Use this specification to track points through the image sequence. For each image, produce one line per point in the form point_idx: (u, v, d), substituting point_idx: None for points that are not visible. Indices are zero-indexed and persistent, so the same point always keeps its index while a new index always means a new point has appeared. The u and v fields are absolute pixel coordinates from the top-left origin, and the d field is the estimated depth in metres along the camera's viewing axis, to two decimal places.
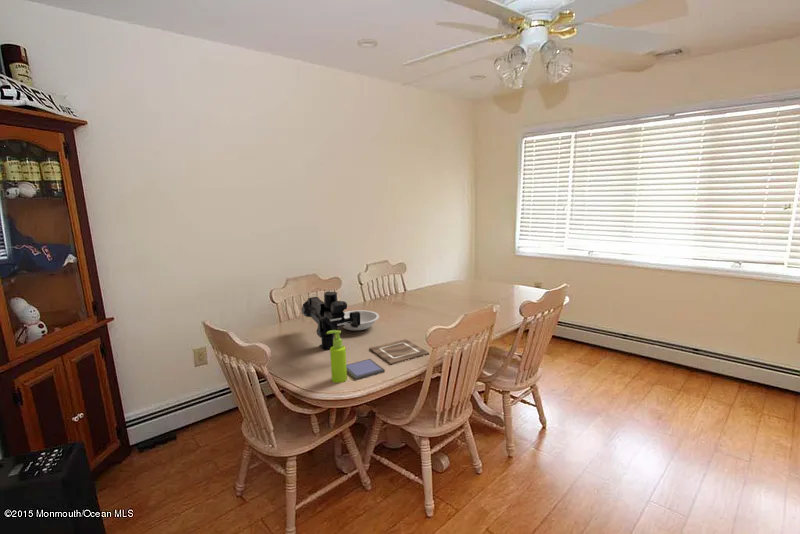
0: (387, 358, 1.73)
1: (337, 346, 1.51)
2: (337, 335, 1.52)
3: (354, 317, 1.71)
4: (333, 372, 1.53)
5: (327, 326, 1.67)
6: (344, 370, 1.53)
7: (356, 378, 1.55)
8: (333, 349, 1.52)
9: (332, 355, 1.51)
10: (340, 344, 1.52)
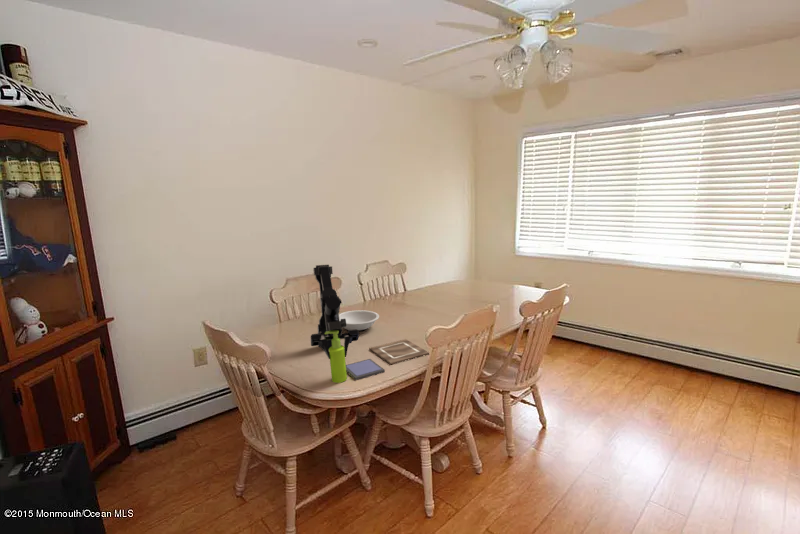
0: (387, 358, 1.73)
1: (336, 347, 1.51)
2: (335, 335, 1.51)
3: (347, 340, 1.55)
4: (333, 372, 1.53)
5: (323, 344, 1.55)
6: (344, 370, 1.53)
7: (356, 378, 1.55)
8: (332, 349, 1.51)
9: (331, 355, 1.51)
10: (338, 344, 1.52)
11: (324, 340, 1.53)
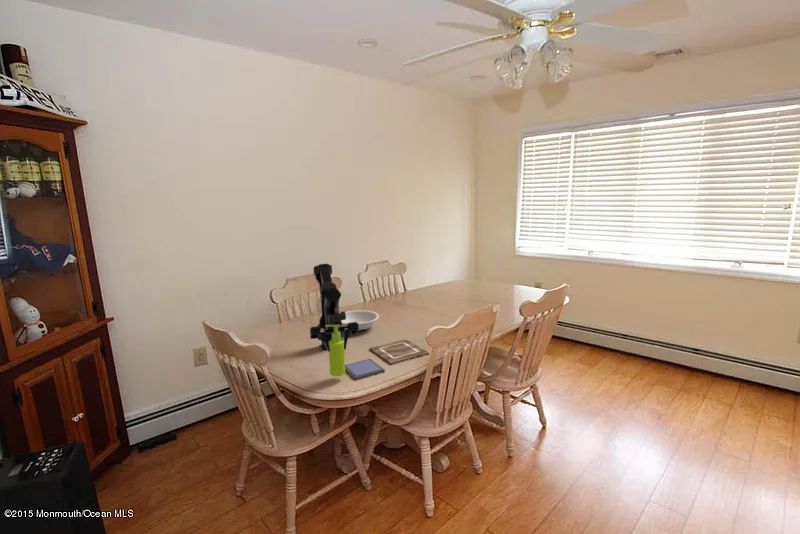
0: (387, 358, 1.73)
1: (336, 340, 1.51)
2: (336, 328, 1.51)
3: (346, 333, 1.55)
4: (331, 365, 1.52)
5: None
6: (342, 363, 1.53)
7: (356, 378, 1.55)
8: (331, 342, 1.51)
9: (330, 348, 1.51)
10: (339, 337, 1.51)
11: (323, 333, 1.52)
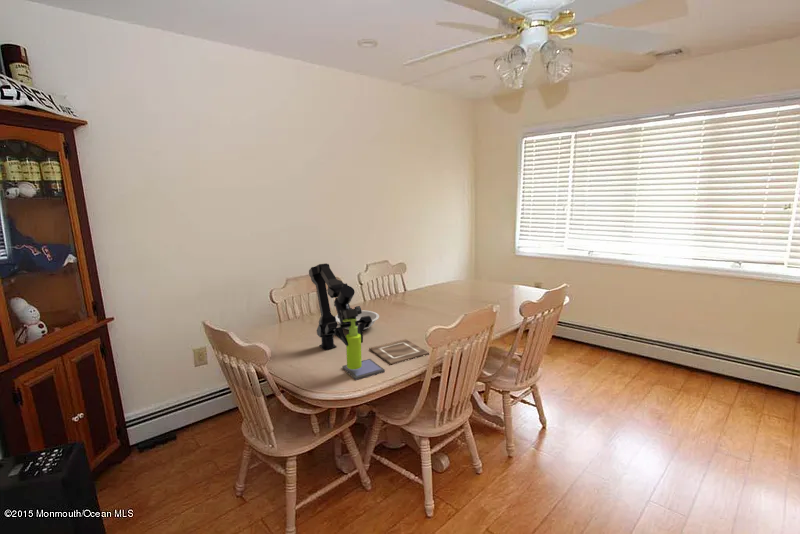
0: (387, 358, 1.73)
1: (354, 334, 1.56)
2: (353, 323, 1.56)
3: (361, 327, 1.60)
4: (350, 359, 1.57)
5: (338, 332, 1.58)
6: (360, 356, 1.58)
7: (356, 378, 1.55)
8: (350, 337, 1.55)
9: (349, 342, 1.55)
10: (356, 331, 1.56)
11: (341, 328, 1.56)
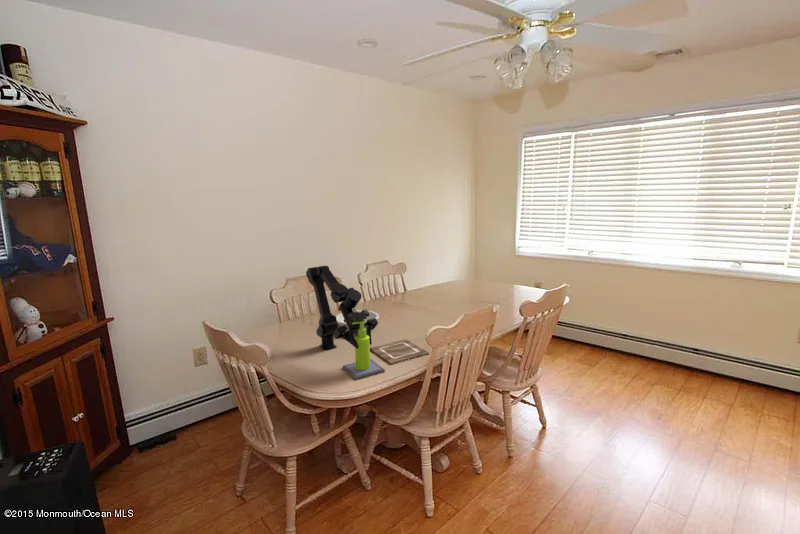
0: (387, 358, 1.73)
1: (363, 335, 1.59)
2: (362, 325, 1.59)
3: (369, 329, 1.64)
4: (359, 360, 1.60)
5: (347, 335, 1.61)
6: (369, 357, 1.62)
7: (356, 378, 1.55)
8: (359, 338, 1.59)
9: (359, 344, 1.59)
10: (365, 333, 1.60)
11: (350, 331, 1.59)
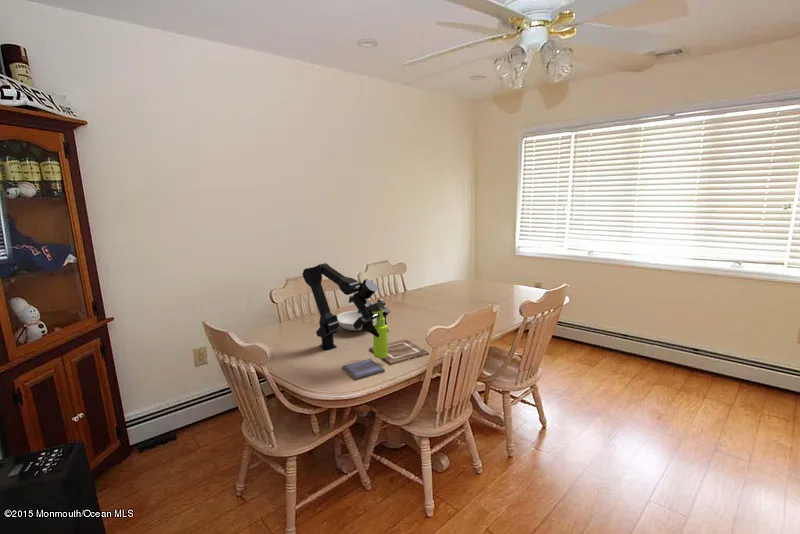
0: (387, 358, 1.73)
1: (383, 324, 1.65)
2: (382, 314, 1.65)
3: None
4: (380, 349, 1.65)
5: (367, 325, 1.64)
6: (387, 345, 1.68)
7: (356, 378, 1.55)
8: (380, 327, 1.64)
9: (380, 333, 1.64)
10: (384, 322, 1.66)
11: (371, 321, 1.63)
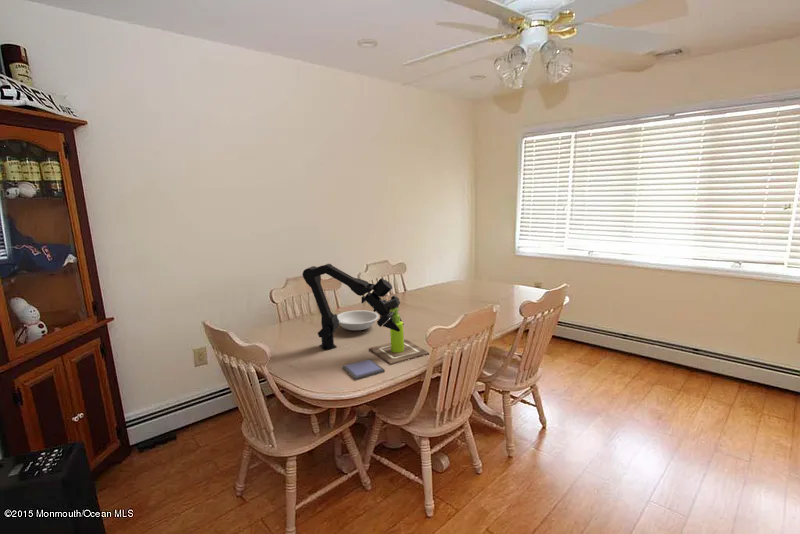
0: (387, 358, 1.73)
1: (399, 320, 1.78)
2: (397, 311, 1.78)
3: None
4: (399, 343, 1.78)
5: (388, 322, 1.74)
6: None
7: (356, 378, 1.55)
8: (398, 323, 1.77)
9: None
10: None
11: (392, 317, 1.74)
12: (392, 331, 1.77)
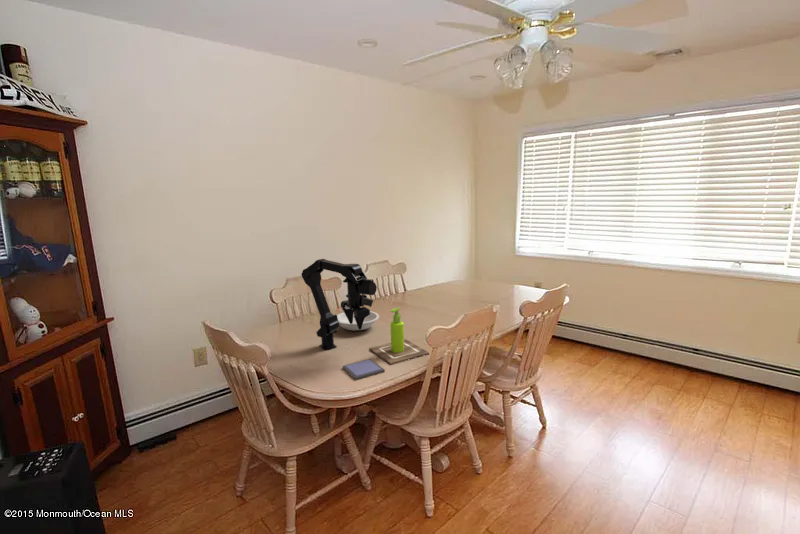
0: (387, 358, 1.73)
1: (400, 320, 1.78)
2: (398, 311, 1.78)
3: None
4: (399, 344, 1.78)
5: None
6: None
7: (356, 378, 1.55)
8: (398, 324, 1.77)
9: (399, 329, 1.77)
10: None
11: None
12: (392, 331, 1.77)
